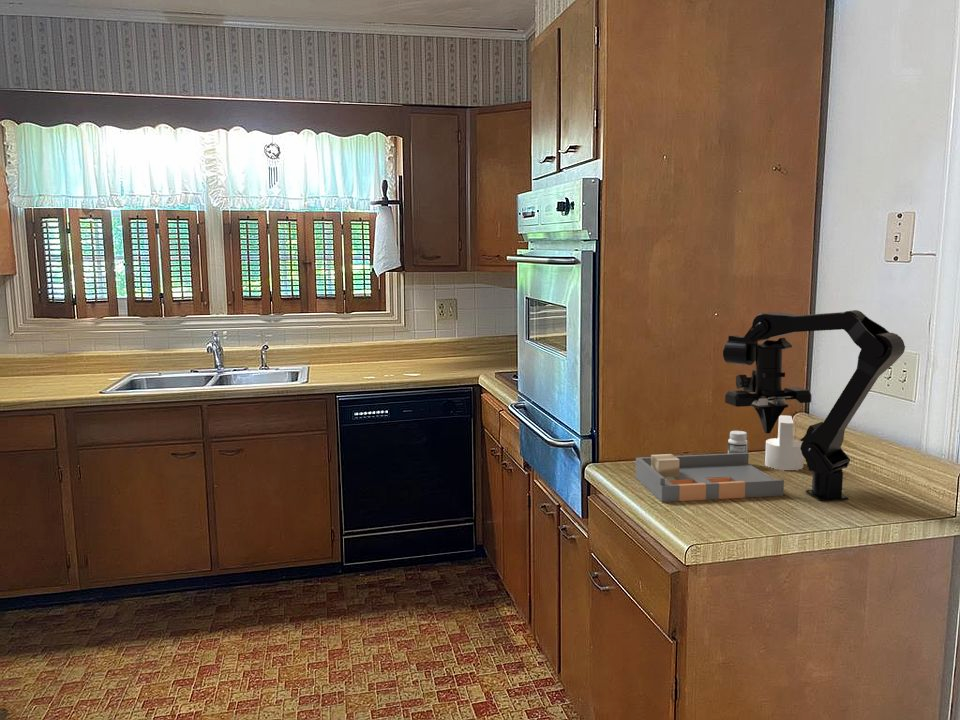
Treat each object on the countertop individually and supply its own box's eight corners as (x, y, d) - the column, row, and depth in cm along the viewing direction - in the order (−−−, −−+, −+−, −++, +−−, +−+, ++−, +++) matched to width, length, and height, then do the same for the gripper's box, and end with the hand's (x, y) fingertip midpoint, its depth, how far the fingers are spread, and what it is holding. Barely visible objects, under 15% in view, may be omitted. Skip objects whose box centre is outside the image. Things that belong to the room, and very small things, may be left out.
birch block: (679, 476, 174) (679, 459, 173) (658, 477, 173) (658, 460, 173) (671, 470, 179) (671, 453, 178) (650, 471, 178) (651, 454, 178)
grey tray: (783, 495, 167) (784, 473, 166) (661, 501, 164) (662, 479, 163) (745, 472, 185) (746, 452, 184) (635, 477, 182) (635, 457, 181)
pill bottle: (731, 460, 195) (732, 429, 194) (749, 463, 192) (750, 431, 191) (724, 464, 192) (725, 432, 190) (742, 468, 189) (744, 435, 187)
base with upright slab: (804, 472, 184) (807, 424, 183) (765, 469, 187) (767, 422, 186) (801, 462, 193) (804, 416, 191) (764, 459, 196) (766, 414, 194)
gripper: (786, 360, 183) (785, 423, 185) (714, 364, 180) (713, 428, 182) (813, 366, 172) (811, 433, 174) (737, 370, 169) (736, 438, 171)
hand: (767, 433), depth 176 cm, fingers closed
